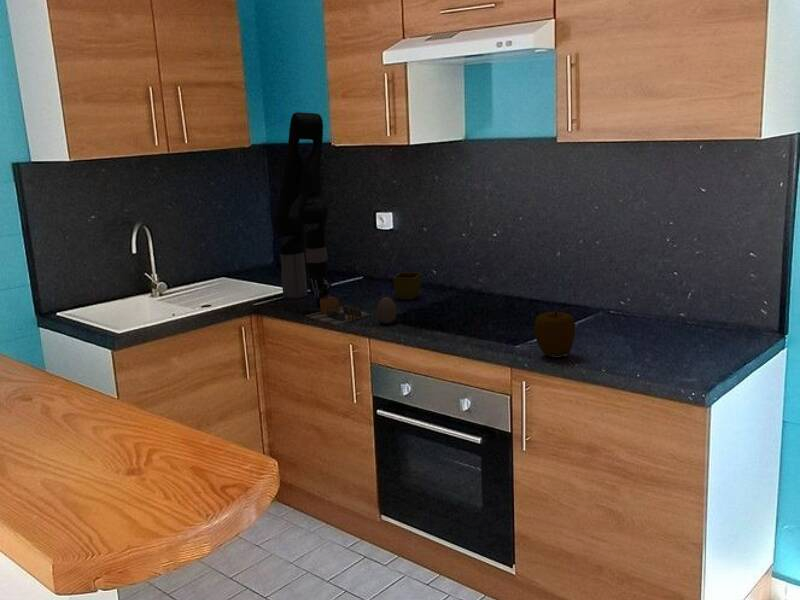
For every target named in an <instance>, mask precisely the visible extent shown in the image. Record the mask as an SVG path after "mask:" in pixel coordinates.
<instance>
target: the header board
mask: <svg viewBox="0 0 800 600" xmlns="http://www.w3.org/2000/svg"><path fill="white" fill-rule="evenodd" d="M339 311H340V312H339ZM339 311H335V310H331V309H328V310H327V314H325V313H321V311H318V312H314V313H310V314H305V318H308V319H310V320H315V321H317V322H321V323H325V324H328V325H331V326H338V325H342V324H346V323H351V322H354V321H355V322H356V321H359V320H361V319H365V318H370V317H373V313H368V312H365V311H362V308H358V306H357V305H356V306H350V305H345V304H344V305H342V306H339Z"/></svg>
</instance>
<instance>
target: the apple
mask: <svg viewBox="0 0 800 600" xmlns="http://www.w3.org/2000/svg"><path fill="white" fill-rule="evenodd" d="M575 333H576V322H575V318H574V317H573V315H572V314H570V313H566V312H561V311H548V312H543V313H541V314H539V315H538V316H537V318H536V320H535V323H534V336H535V340H536V343H537V344H538V347H539V349H540V351H541V353H542V354H543V353H544V354H543V355H545V354H547V355H551V356H552V355H553V356H561V355H565V354H568V355H570V352H571V350H572V348H573V347H572V346H573V344H574V341H575Z"/></svg>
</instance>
